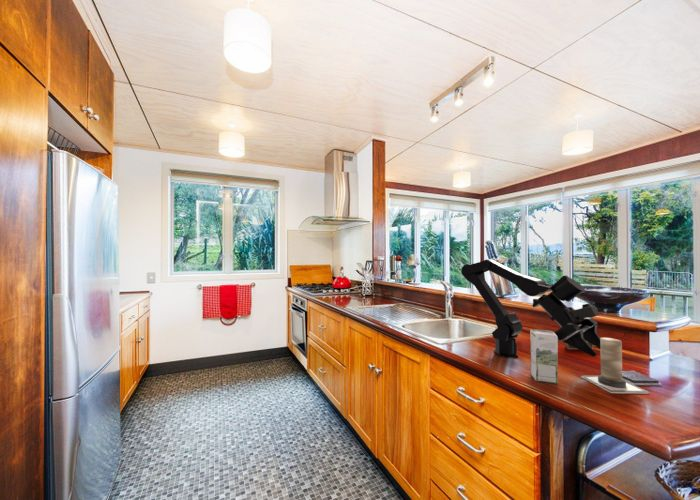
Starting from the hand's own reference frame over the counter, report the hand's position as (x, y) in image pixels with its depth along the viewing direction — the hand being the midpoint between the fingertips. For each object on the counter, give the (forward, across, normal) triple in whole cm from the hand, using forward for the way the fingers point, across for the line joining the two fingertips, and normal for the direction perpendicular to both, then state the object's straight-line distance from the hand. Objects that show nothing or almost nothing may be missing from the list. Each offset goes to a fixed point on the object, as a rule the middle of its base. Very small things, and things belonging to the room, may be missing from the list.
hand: (600, 353), depth 85 cm
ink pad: (+10, +10, +2) cm, 14 cm away
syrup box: (-1, -12, +13) cm, 18 cm away
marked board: (+8, 0, +4) cm, 9 cm away
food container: (-6, +34, +18) cm, 39 cm away
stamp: (+7, 0, +4) cm, 8 cm away
